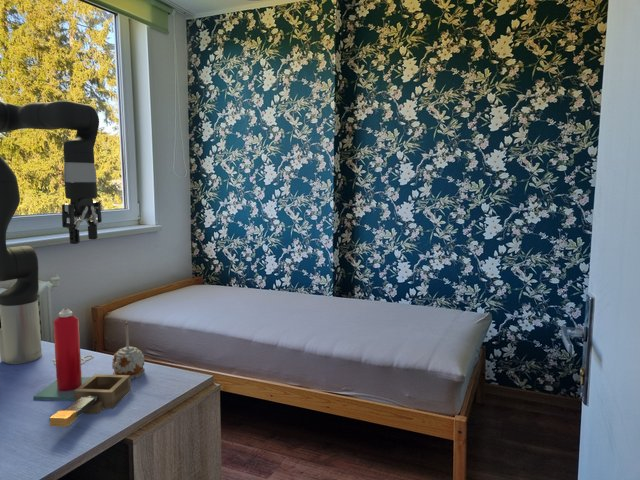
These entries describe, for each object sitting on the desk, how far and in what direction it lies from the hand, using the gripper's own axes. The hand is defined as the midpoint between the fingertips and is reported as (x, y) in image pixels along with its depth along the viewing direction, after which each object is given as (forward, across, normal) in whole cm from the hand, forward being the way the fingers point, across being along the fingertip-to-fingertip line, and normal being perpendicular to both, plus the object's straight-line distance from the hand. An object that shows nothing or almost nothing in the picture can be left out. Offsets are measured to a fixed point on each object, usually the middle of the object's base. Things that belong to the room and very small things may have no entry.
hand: (84, 241), depth 119 cm
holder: (+36, +17, +12) cm, 42 cm away
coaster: (+36, +12, +1) cm, 38 cm away
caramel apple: (+36, +3, +12) cm, 38 cm away
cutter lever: (+33, +27, +12) cm, 45 cm away
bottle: (+36, +12, +1) cm, 37 cm away
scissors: (+37, 0, -5) cm, 37 cm away
